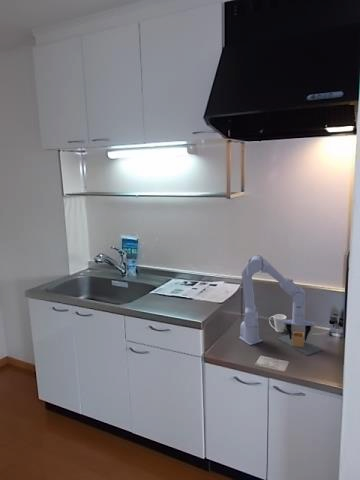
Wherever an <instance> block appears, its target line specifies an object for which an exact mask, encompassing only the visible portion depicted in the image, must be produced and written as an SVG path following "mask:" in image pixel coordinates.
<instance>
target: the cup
mask: <svg viewBox="0 0 360 480" xmlns="http://www.w3.org/2000/svg"><path fill="white" fill-rule="evenodd" d="M271 318H273V323H274V326H273V324H272V322H271ZM283 320H287V316H286V315H285V314H280V313H277V314H274V315H271V316H270V317H269V318H268V323H269V325H270V326H271V328H273V329H274V330H275V332H277V333H284V332H285V328H286V325H283Z"/></svg>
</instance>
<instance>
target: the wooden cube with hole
mask: <svg viewBox="0 0 360 480" xmlns="http://www.w3.org/2000/svg"><path fill="white" fill-rule="evenodd" d="M292 333H293V336H292V346H298V347H304V340H305V332H301V331H292Z"/></svg>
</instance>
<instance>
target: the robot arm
mask: <svg viewBox="0 0 360 480" xmlns="http://www.w3.org/2000/svg"><path fill="white" fill-rule="evenodd" d="M259 272H260V273H261V274H262V273H264V274H265V273H266V274H268V275H269V276H271V277H272V278H273V279H274V280H275V281H277V282H278V283H279V287H280V288H281V289H282V290H283V291H285V293H287V294H288V295H289V296H290V297H292V301H293V302H292V315H291V316H292V319H286V320H283V325H285V328H286V331H287V332H288V334H289V336H290V339H291V338H292V334H291V333H292V326H296V327H304V330H305V331H304V340H305V341H307V338H308V336H309V334H310V332H311V330H312V328H315V321H309V320H306V300H307V299H306V291H305V290H304V288H303V287H300V286H299V285H297V284H296V283H294V280H293V279H292V278H289V277H284V276H283V275H282V274H281V273H280V272H279V271H278V270H277V269H276V268H275V267H274V266H273V265H272V264H271V263H270V262H269V261H268V260H266V259H265V258H264V257H263V256H261V255H259V254H254V255H253V256H252V257H251V258H250V259H249V260H248V261H247V263H246V265H245V266H244V268H243V270H242V272H241V280H242V288H243V289H242V290H243V296H244V297H243V299H244V305H245V306H244V307H245V309H244V314H245V316H244V319H243V321H242V322H241V323H240V327H239V329H240V331H239V332H240V333H239V334H240V336H239V337H238V338H239V339H240V340H241V341H243V342H245V343H246V344H248V345H249V346H251V345H255V344H257V343H261V342H263V339H261V338H260V333H259V332H260V331H259V330H260V327H259V326H260V324H259V321H258V319H259V311H258V310H257V306H256V302H255V293H254V284H253V283H254V282H253V276H254V275H255V274H256V273H259Z"/></svg>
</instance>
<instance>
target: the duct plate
mask: <svg viewBox="0 0 360 480" xmlns="http://www.w3.org/2000/svg"><path fill="white" fill-rule="evenodd" d="M291 334H292V336H293V332H291ZM277 340H279V341H280V342H282V343H283V344H286V345H288V346H289V347H291V348H293V349H294V350H295V351H297V352H299V353H301V354H303V355H305V356H306V357H309V356H312V355H314V354H316V353H319V352H322V351H323V350H324V348H322V347H320V346H318V345H316V344H315V343H312V342H310V341H308V340H306V341H305V339H304V347H298V346H292V338H291V339H290V336H289V333H288V334H285V335H282V336H279V337H277Z"/></svg>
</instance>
